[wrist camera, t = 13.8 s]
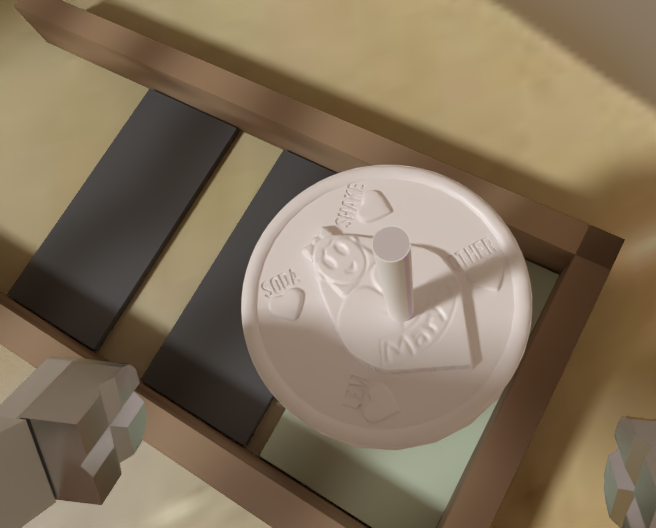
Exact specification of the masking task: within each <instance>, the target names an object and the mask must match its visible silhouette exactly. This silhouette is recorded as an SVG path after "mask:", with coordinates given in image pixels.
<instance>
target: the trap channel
mask: <svg viewBox="0 0 656 528" xmlns="http://www.w3.org/2000/svg"><path fill="white" fill-rule="evenodd" d="M14 7H15V8H16V9H17V10H18V11H19V12H20V14H21V15H22V16H23V17H24V18H25V19H26V20H27V21H28V22H29V23H30V24H31V25H32V26H33V28H34V29H35V30H36V31H37V32H38V33H39V34H40V35H41V36H42V37H43V38H44V39H45V40H46V42H48V43H51V44H53V45H55V46H57V47H59V48H62V49H64V50H66V51H68V52H70V53H73V54H75V55H77V56H79V57H81V58H83V59H86V60H88V61H90V62H92V63H94V64H97V65H99V66H101V67H103V68H105V69H108V70H110V71H112V72H114V73H116V74H119V75H121V76H123V77H125V78H127V79H130V80H132V81H134V82H136V83H138V84H141V85H143V86H145V87H147V88H149V90H148V92H147V93H146V95H145V96H144V98H143V99H142V100H141V102H140V103H139V105H138V106H137V108H136V109H135V111H134V112H133V113H132V115H131V116H130V118H129V119H128V121H127V122H126V124H125V125H124V126H123V128H122V129H121V131H120V132H119V134H118V135H117V137H116V138H115V139H114V141H113V142H112V144H111V145H110V147H109V148H108V150H107V151H106V152H105V154H104V155H103V157H102V158H101V160H100V161H99V163H98V164H97V165H96V167H95V168H94V170H93V171H92V173H91V174H90V176H89V177H88V178H87V180H86V181H85V183H84V184H83V186H82V187H81V189H80V190H79V191H78V193H77V194H76V196H75V197H74V199H73V200H72V202H71V203H70V204H69V206H68V207H67V209H66V210H65V212H64V213H63V215H62V216H61V217H60V219H59V220H58V222H57V223H56V225H55V226H54V228H53V229H52V230H51V232H50V233H49V235H48V236H47V238H46V239H45V241H44V242H43V243H42V245H41V246H40V248H39V249H38V251H37V252H36V254H35V255H34V256H33V258H32V259H31V261H30V262H29V264H28V265H27V267H26V268H25V269H24V271H23V272H22V274H21V275H20V277H19V278H18V280H17V281H16V282H15V284H14V285H13V287H12V288H11V290H10V291H9V293H8V294H7V295H9V296H10V297H12V298H13V299H15V300H17V301H18V302H20V303H21V304H23V305H24V306H26V307H28V308H29V309H31V310H32V311H34V312H35V313H37V314H38V315H40V316H42V317H43V318H45V319H46V320H48V321H49V322H51V323H53V324H54V325H56V326H57V327H59V328H60V329H62V330H64V331H65V332H67V333H68V334H70V335H71V336H73V337H74V338H76V339H78V340H79V341H81V342H82V343H84V344H85V345H87V346H89V347H90V348H92V349H93V350H96V351H98V349H99V348H100V346H101V345H102V343H103V341H104V340H105V338H106V337H107V335H108V334H109V332H110V331H111V329H112V328H113V326H114V324H115V323H116V321H117V320H118V318H119V317H120V315H121V314H122V312H123V310H124V309H125V307H126V306H127V304H128V303H129V301H130V300H131V298H132V296H133V295H134V293H135V292H136V290H137V289H138V287H139V286H140V284H141V283H142V281H143V279H144V278H145V276H146V275H147V273H148V272H149V270H150V269H151V267H152V265H153V264H154V262H155V261H156V259H157V258H158V256H159V255H160V253H161V252H162V250H163V248H164V247H165V245H166V244H167V242H168V241H169V239H170V238H171V236H172V234H173V233H174V231H175V230H176V228H177V227H178V225H179V224H180V222H181V220H182V219H183V217H184V216H185V214H186V213H187V211H188V210H189V208H190V207H191V205H192V203H193V202H194V200H195V199H196V197H197V196H198V194H199V193H200V191H201V189H202V188H203V186H204V185H205V183H206V182H207V180H208V179H209V177H210V175H211V174H212V172H213V171H214V169H215V168H216V166H217V165H218V163H219V162H220V160H221V158H222V157H223V155H224V154H225V152H226V151H227V149H228V148H229V146H230V144H231V143H232V141H233V140H234V138H235V137H236V135H237V134H238V132H239V131H238V129H239V130H242V131H244V132H246V133H248V134H250V135H252V136H255V137H257V138H259V139H261V140H263V141H266V142H268V143H270V144H272V145H274V146H277V147H279V148H281V149H283V152H282V153H281V155H280V157H279V158H278V160H277V161H276V163H275V165H274V166H273V168H272V169H271V171H270V173H269V174H268V176H267V178H266V179H265V181H264V182H263V184H262V186H261V187H260V189H259V190H258V192H257V194H256V195H255V197H254V198H253V200H252V202H251V203H250V205H249V206H248V208H247V210H246V211H245V213H244V214H243V216H242V218H241V219H240V221H239V223H238V224H237V226H236V227H235V229H234V231H233V232H232V234H231V235H230V237H229V239H228V240H227V242H226V243H225V245H224V247H223V248H222V250H221V251H220V253H219V255H218V256H217V258H216V260H215V261H214V263H213V264H212V266H211V268H210V269H209V271H208V272H207V274H206V276H205V277H204V279H203V280H202V282H201V284H200V285H199V287H198V288H197V290H196V292H195V293H194V295H193V296H192V298H191V300H190V301H189V303H188V305H187V306H186V308H185V309H184V311H183V313H182V314H181V316H180V317H179V319H178V321H177V322H176V324H175V325H174V327H173V329H172V330H171V332H170V333H169V335H168V337H167V338H166V340H165V342H164V343H163V345H162V346H161V348H160V350H159V351H158V353H157V354H156V356H155V358H154V359H153V361H152V362H151V364H150V366H149V367H148V369H147V370H146V372H145V374H144V375H143V377H142V378H141V380H142V381H143V382H145V383H147V384H148V385H150V386H151V387H153V388H154V389H156V390H157V391H159V392H161V393H162V394H164V395H165V396H167V397H168V398H170V399H172V400H173V401H175V402H176V403H178V404H179V405H181V406H183V407H184V408H186V409H187V410H189V411H190V412H192V413H193V414H195V415H197V416H198V417H200V418H201V419H203V420H204V421H206V422H208V423H209V424H211V425H212V426H214V427H215V428H217V429H219V430H220V431H222V432H223V433H225V434H226V435H228V436H229V437H231V438H233V439H234V440H236V441H237V442H239V443H240V444H242V445H244V446H246V445H247V444H248V442H249V440H250V438H251V437H252V435H253V433H254V431H255V430H256V428H257V426H258V424H259V422H260V421H261V419H262V417H263V415H264V414H265V412H266V410H267V408H268V407H269V405H270V403H271V401H272V400H273V398H274V396H273V395H272V393H271V392H270V391H269V389H268V388H267V387H266V385H265V384H264V382H263V381H262V379H261V377H260V376H259V374H258V372H257V370H256V368H255V366H254V364H253V362H252V359H251V357H250V354H249V351H248V348H247V345H246V341H245V337H244V332H243V326H242V314H241V299H242V289H243V282H244V278H245V274H246V269H247V266H248V263H249V260H250V257H251V255H252V253H253V251H254V248H255V246H256V244H257V242H258V241H259V239H260V237H261V235H262V233H263V232H264V231H265V229H266V228H267V226H268V225H269V223H270V222H271V221H272V220H273V218H274V217H275V216H276V215H277V214H278V213H279V212H280V210H281V209H282V208H283V207H284V206H285V205H286V204H288V203H289V202H290V201H291V200H292V199H293V198H295V197H296V196H297V195H298V194H300V193H301V192H303V191H304V190H306V189H307V188H309V187H310V186H312V185H314V184H316V183H317V182H319V181H321V180H323V179H326V178H328V177H330V176H332V175H335V174H338V173H341V172H343V171H347V170H351V169H355V168H360V167H366V166H374V165H402V166H410V167H416V168H421V169H425V170H429V171H432V172H435V173H438V174H441V175H443V176H446V177H448V178H450V179H452V180H454V181H456V182H458V183H460V184H462V185H463V186H465V187H467V188H468V189H470V190H471V191H473V192H474V193H475V194H477V195H478V196H479V197H481V198H482V199H483V200H484V201H485V202H486V203H488V204H489V205H490V206H491V207H492V208H493V209H494V210H495V211H496V213H497V214H498V215H499V216H500V217H501V218H502V220H503V221H504V222H505V224H506V225H507V226H508V228H509V229H510V231H511V232H512V234H513V236H514V238H515V239H516V241H517V243H518V245H519V247H520V250H521V252H522V254H523V257H524V260H525V263H526V265H527V269H528V273H529V278H530V283H531V291H532V319H531V327H530V332H529V337H528V341H527V344H526V348H525V351H524V354H523V356H522V358H521V361H520V363H519V365H518V367H517V369H516V371H515V373H514V375H513V376H512V378H511V380H510V381H509V383H508V384H507V385H506V387H505V388H504V390H503V392H502V393H501V395H500V397H499V398H498V399H497V400H496V401H495V402H494V403H493V404H492V405H491V406H490V407H488V408H487V409H486V410H485V411H484V412H483V413H482V414H481V415H480V416H479V417H478V418H477V419H476V420H475V421H474V422H473V423H472V424H470V425H468V426H467V427H465V428H463V429H461V430H459V431H457V432H455V433H453V434H451V435H449V436H447V437H445V438H443V439H442V440H440V441H438V442H436V443H431V444H426V445H421V446H416V447H411V448H406V449H402V450H384V449H370V448H358V447H355V446H352V445H349V444H346V443H344V442H341V441H338V440H335V439H332V438H330V437H327V436H324V435H321V434H320V433H319V432H317V431H316V430H314V429H313V428H311V427H309V426H308V425H306V424H305V423H303V422H302V421H300V420H299V419H297V418H296V417H295V416H294V415H292V414H291V413H290V412H289V411H288V410H287V409H285V411H284V413H283V415H282V417H281V418H280V420H279V422H278V424H277V425H276V427H275V429H274V431H273V433H272V434H271V436H270V438H269V440H268V441H267V443H266V445H265V447H264V449H263V450H262V452H261V454H260V456H261V457H262V458H264V459H266V460H267V461H269V462H270V463H272V464H273V465H275V466H276V467H278V468H280V469H281V470H283V471H284V472H286V473H287V474H289V475H291V476H292V477H294V478H295V479H297V480H298V481H300V482H302V483H303V484H305V485H306V486H308V487H309V488H311V489H312V490H314V491H316V492H317V493H319V494H320V495H322V496H323V497H325V498H327V499H328V500H330V501H331V502H333V503H334V504H336V505H338V506H339V507H341V508H342V509H344V510H345V511H347V512H348V513H350V514H352V515H353V516H355V517H356V518H358V519H359V520H361V521H363V522H364V523H366V524H367V525H369V526H370V527H372V528H490V526H491V524H492V522H493V520H494V518H495V515H496V513H497V511H498V509H499V507H500V505H501V503H502V501H503V498H504V496H505V494H506V492H507V490H508V488H509V486H510V483H511V481H512V479H513V477H514V475H515V473H516V471H517V469H518V466H519V464H520V462H521V460H522V458H523V456H524V454H525V452H526V449H527V447H528V445H529V443H530V441H531V439H532V437H533V434H534V432H535V430H536V428H537V426H538V424H539V422H540V420H541V417H542V415H543V413H544V411H545V409H546V407H547V405H548V402H549V400H550V398H551V396H552V394H553V392H554V390H555V388H556V385H557V383H558V381H559V379H560V377H561V375H562V373H563V371H564V368H565V366H566V364H567V362H568V360H569V358H570V356H571V353H572V351H573V349H574V347H575V345H576V343H577V341H578V339H579V336H580V334H581V332H582V330H583V328H584V326H585V324H586V321H587V319H588V317H589V315H590V313H591V311H592V309H593V307H594V304H595V302H596V300H597V298H598V296H599V294H600V292H601V290H602V287H603V285H604V283H605V281H606V279H607V277H608V275H609V272H610V270H611V268H612V266H613V264H614V262H615V260H616V258H617V255H618V253H619V251H620V249H621V247H622V245H623V243H624V241H625V239H622V238H620V237H618V236H615V235H613V234H611V233H608V232H606V231H603V230H601V229H599V228H596V227H594V226H592V225H589V224H587V223H585V222H582V221H580V220H578V219H575V218H573V217H570V216H568V215H566V214H563V213H561V212H559V211H556V210H554V209H552V208H549V207H547V206H545V205H542V204H540V203H537V202H535V201H533V200H530V199H528V198H526V197H523V196H521V195H519V194H516V193H514V192H512V191H509V190H507V189H504V188H502V187H500V186H497V185H495V184H493V183H490V182H488V181H486V180H483V179H481V178H479V177H476V176H474V175H471V174H469V173H467V172H464V171H462V170H460V169H457V168H455V167H453V166H450V165H448V164H446V163H443V162H441V161H438V160H436V159H434V158H431V157H429V156H427V155H424V154H422V153H420V152H417V151H415V150H413V149H410V148H408V147H405V146H403V145H401V144H398V143H396V142H394V141H391V140H389V139H387V138H384V137H382V136H380V135H377V134H375V133H372V132H370V131H368V130H365V129H363V128H361V127H358V126H356V125H354V124H351V123H349V122H347V121H344V120H342V119H339V118H337V117H335V116H332V115H330V114H328V113H325V112H323V111H321V110H318V109H316V108H314V107H311V106H309V105H307V104H304V103H302V102H299V101H297V100H295V99H292V98H290V97H288V96H285V95H283V94H281V93H278V92H276V91H274V90H271V89H269V88H266V87H264V86H262V85H259V84H257V83H255V82H252V81H250V80H248V79H245V78H243V77H241V76H238V75H236V74H233V73H231V72H229V71H226V70H224V69H222V68H219V67H217V66H215V65H212V64H210V63H208V62H205V61H203V60H200V59H198V58H196V57H193V56H191V55H189V54H186V53H184V52H182V51H179V50H177V49H175V48H172V47H170V46H167V45H165V44H163V43H160V42H158V41H156V40H153V39H151V38H149V37H146V36H144V35H142V34H139V33H137V32H134V31H132V30H130V29H127V28H125V27H123V26H120V25H118V24H116V23H113V22H111V21H109V20H106V19H104V18H101V17H99V16H97V15H94V14H92V13H90V12H87V11H85V10H83V9H80V8H78V7H76V6H73V5H71V4H68V3H66V2H64V1H61V0H18V2H17V3H16V4H15V5H14ZM13 299H11V298H9V297H8V296H6V295H5V294H3V293H2V292H0V344H1V345H3V346H4V347H6V348H7V349H9V350H10V351H12V352H13V353H15V354H16V355H18V356H19V357H21V358H22V359H24V360H25V361H27V362H28V363H29V364H31V365H32V366H34V367H35V368H38V367H39V366H40V365H41V364H42V363H43V362H44V361H45V360H46V359H47V358H50V357H53V356H64V357H71V358H78V359H80V358H83V359H91V360H99V361H106V362H109V361H108V360H106V359H105V358H103V357H102V356H100V355H99V354H97V353H95V352H94V351H92V350H91V349H89V348H88V347H86V346H84V345H83V344H81V343H80V342H78V341H77V340H75V339H74V338H72V337H70V336H69V335H67V334H66V333H64V332H63V331H61V330H59V329H58V328H56V327H55V326H53V325H52V324H50V323H49V322H47V321H45V320H44V319H42V318H41V317H39V316H38V315H36V314H34V313H33V312H31V311H30V310H28V309H27V308H25V307H24V306H22V305H20V304H19V303H17V302H16V301H14V300H13ZM134 392H135V393H136V394H137V395H138V396H139V397H140V398H141V399H142V400H143V401H144V403H145V408H146V412H147V418H146V428H145V432H144V435H143V439H142V440H144V441H145V442H146V443H148V444H149V445H151V446H152V447H154V448H155V449H157V450H158V451H160V452H161V453H163V454H164V455H166V456H167V457H169V458H170V459H172V460H173V461H175V462H176V463H178V464H179V465H181V466H182V467H184V468H185V469H186V470H188V471H189V472H191V473H192V474H194V475H195V476H197V477H198V478H200V479H201V480H203V481H204V482H206V483H207V484H209V485H210V486H212V487H213V488H215V489H216V490H218V491H219V492H221V493H222V494H224V495H225V496H226V497H228V498H229V499H231V500H232V501H234V502H235V503H237V504H238V505H240V506H241V507H243V508H244V509H246V510H247V511H249V512H250V513H252V514H253V515H255V516H256V517H258V518H259V519H261V520H262V521H264V522H265V523H266V524H268V525H269V526H271V527H272V528H369V527H367V526H366V525H364V524H363V523H361V522H360V521H358V520H356V519H355V518H353V517H352V516H350V515H349V514H347V513H346V512H344V511H342V510H341V509H339V508H338V507H336V506H335V505H333V504H331V503H330V502H328V501H327V500H325V499H324V498H322V497H320V496H319V495H317V494H316V493H314V492H313V491H311V490H310V489H308V488H306V487H305V486H303V485H302V484H300V483H299V482H297V481H295V480H294V479H292V478H291V477H289V476H288V475H286V474H285V473H283V472H281V471H280V470H278V469H277V468H275V467H274V466H272V465H270V464H269V463H267V462H266V461H264V460H263V459H261V458H260V457H258V456H256V455H255V454H253V453H252V452H250V451H249V450H247V449H245V448H244V447H242V446H241V445H239V444H238V443H236V442H235V441H233V440H231V439H230V438H228V437H227V436H225V435H224V434H222V433H220V432H219V431H217V430H216V429H214V428H213V427H211V426H210V425H208V424H206V423H205V422H203V421H202V420H200V419H199V418H197V417H195V416H194V415H192V414H191V413H189V412H188V411H186V410H185V409H183V408H181V407H180V406H178V405H177V404H175V403H174V402H172V401H170V400H169V399H167V398H166V397H164V396H163V395H161V394H159V393H158V392H156V391H155V390H153V389H152V388H150V387H149V386H147V385H145V384H144V383H142V382H141V381H140V383H139V385H138V386H137V388H136V389H135V391H134Z"/></svg>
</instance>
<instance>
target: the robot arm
mask: <svg viewBox="0 0 656 528" xmlns="http://www.w3.org/2000/svg"><path fill="white" fill-rule="evenodd" d="M139 383H140V381H139V378H138V374H137V371H136V368H135V367H133V366H131V365H129V364H122V363H114V362H106V361H99V360H91V359H83V358H80V359H78V358H71V357H64V356H53V357H50V358H47V359H46V360H45V361H44V362H43V363H42V364H41V365H40V366H39V367H38V368H37V369H36V370H35V371H34V372H33V373H32V374H31V375H30V376H29V377H28V378H27V379H26V380H25V381H24V382H23V383H22V384H21V385H20V386H19V387H18V388H17V389H16V390H15V391H14V392H13V393H12V394H11V395H10V396H9V397H8V398H7V399H6V400H5V401H4V402H3V403H2V404H1V405H0V528H21V527H23V526H24V525H25V524H27V523H28V522H29V521H31V520H32V519H33V518H35V517H36V516H38V515H39V514H40V513H42V512H43V511H44V510H46V509H47V508H49V507H50V506H51V505H53V504H54V503H55V502H56V501H55V500H64V501H72V502H80V503H89V504H97V505H102V504H103V502H104V501H105V499H106V497H107V496H108V494H109V493H110V491H111V490H112V488H113V486H114V485H115V483H116V482H117V480H118V479H119V477H120V476H121V468H120V462H122V461H124V460H125V459H127V458H129V457H130V456H132V455H134V453H135V452H136V450H137V448H138V447H139V445H140V443H141V442H142V439H143V435H144V432H145V428H146V418H147V412H146V408H145V403H144V401H143V400H142V399H141V398H140V397H139V396H138V395H137V394H136V393H135V392H134V391H135V389H136V388H137V386H138V385H139ZM614 435H615V438H616V442H617V445H618V448H619V449H618V450H616V451H615V452H613V453H612V454H610V455H609V456H608V460H607V464H606V468H605V474H604V493H605V500H606V506H607V509H608V513H609V517H610V519H611V520H612V521H613V522H615V523H616V524H617V525H618V526H619V527H620V528H656V419H650V418H639V417H629V416H622V418H621V419H620V420H619V422H618V424H617V428H616V431H615V434H614Z"/></svg>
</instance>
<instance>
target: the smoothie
mask: <svg viewBox="0 0 656 528" xmlns="http://www.w3.org/2000/svg"><path fill="white" fill-rule="evenodd" d="M241 314H242V326H243V332H244V337H245V341H246V345H247V348H248V351H249V354H250V357H251V359H252V362H253V364H254V366H255V368H256V370H257V372H258V374H259V376H260V377H261V379H262V381H263V382H264V384H265V385H266V387H267V388H268V389H269V391H270V392H271V393H272V395H273V396H274V397H275V398H276V399H277V400H278V401H279V402H280V403H281V405H282V406H283V407H284V408H285V409H287V410H288V411H289V412H290V413H291V414H292V415H294V416H295V417H296V418H297V419H299V420H300V421H302V422H303V423H305V424H306V425H308V426H309V427H311V428H313V429H314V430H316V431H317V432H319V433H320V434H321V435H324V436H327V437H330V438H332V439H335V440H338V441H341V442H344V443H346V444H349V445H352V446H355V447H358V448H370V449H384V450H402V449H406V448H411V447H416V446H421V445H426V444H431V443H436V442H438V441H440V440H442V439H443V438H445V437H447V436H449V435H451V434H453V433H455V432H457V431H459V430H461V429H463V428H465V427H467V426H468V425H470V424H472V423H473V422H474V421H475V420H476V419H477V418H478V417H479V416H480V415H481V414H482V413H483V412H484V411H485V410H486V409H487V408H488V407H490V406H491V405H492V404H493V403H494V402H495V401H496V400H497V399H498V398H499V397H500V395H501V393H502V392H503V390H504V388H505V387H506V385H507V384H508V383H509V381H510V380H511V378H512V376H513V375H514V373H515V371H516V369H517V367H518V365H519V363H520V361H521V358H522V356H523V354H524V351H525V348H526V344H527V341H528V337H529V332H530V327H531V319H532V291H531V283H530V278H529V273H528V269H527V265H526V263H525V260H524V257H523V254H522V252H521V250H520V247H519V245H518V243H517V241H516V239H515V238H514V236H513V234H512V232H511V231H510V229H509V228H508V226H507V225H506V224H505V222H504V221H503V220H502V218H501V217H500V216H499V215H498V214H497V213H496V211H495V210H494V209H493V208H492V207H491V206H490V205H489V204H488V203H486V202H485V201H484V200H483V199H482V198H481V197H479V196H478V195H477V194H475V193H474V192H473V191H471V190H470V189H468V188H467V187H465V186H463V185H462V184H460V183H458V182H456V181H454V180H452V179H450V178H448V177H446V176H443V175H441V174H438V173H435V172H432V171H429V170H425V169H421V168H416V167H410V166H402V165H374V166H366V167H360V168H355V169H351V170H347V171H343V172H341V173H338V174H335V175H332V176H330V177H328V178H326V179H323V180H321V181H319V182H317V183H316V184H314V185H312V186H310V187H309V188H307V189H306V190H304V191H303V192H301V193H300V194H298V195H297V196H296V197H295V198H293V199H292V200H291V201H290V202H289V203H288V204H286V205H285V206H284V207H283V208H282V209H281V210H280V212H279V213H278V214H277V215H276V216H275V217H274V218H273V220H272V221H271V222H270V223H269V225H268V226H267V228H266V229H265V231H264V232H263V233H262V235H261V237H260V239H259V241H258V242H257V244H256V246H255V248H254V251H253V253H252V255H251V257H250V260H249V263H248V266H247V269H246V274H245V278H244V282H243V289H242V299H241Z"/></svg>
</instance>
